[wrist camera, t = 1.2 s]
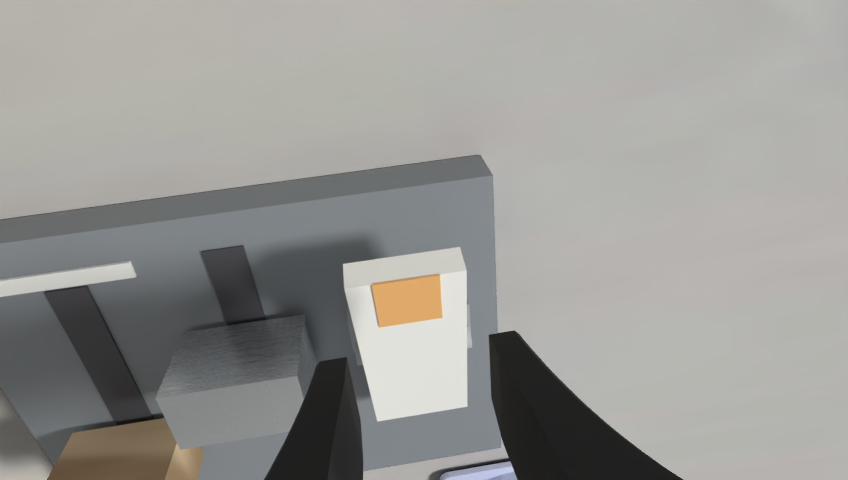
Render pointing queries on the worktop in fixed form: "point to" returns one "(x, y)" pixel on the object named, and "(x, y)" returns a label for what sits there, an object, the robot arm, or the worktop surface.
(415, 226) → the console
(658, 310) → the worktop surface
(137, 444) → the oak slider
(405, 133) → the worktop surface
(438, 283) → the block
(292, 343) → the steel slider
